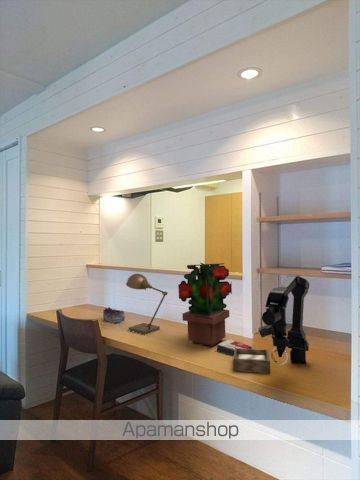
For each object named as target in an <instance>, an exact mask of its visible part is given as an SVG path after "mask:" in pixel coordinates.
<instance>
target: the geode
mask: <svg viewBox="0 0 360 480" xmlns="http://www.w3.org/2000/svg"><path fill="white" fill-rule="evenodd" d="M102 313H103V314H102V317H103V318H102V319H103V321H104V322H109V323H113V324H120V323H121V322H122V321H125V319H126V315H125V312H124V310H118V309H112V308H111V307H110V306H109V307H108V308H106V307H105V308H104V309H103V312H102Z"/></svg>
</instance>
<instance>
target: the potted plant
mask: <svg viewBox="0 0 360 480" xmlns="http://www.w3.org/2000/svg"><path fill="white" fill-rule="evenodd" d="M224 264H225V263H224V262H223V263H203V262H199V264H187V265H186V268H187V270H191V271H190V273H185V274H184V275H183V278H184V279H185V280H182V281H180V283H179V284H178V299H179V300H181V301H182V302H183V303H184V302H186V301H187V299H189V300H188V301H187V304H189V306H188V308H187V309H188V311H185V312H183V313H182V321H184V322H185V321H186V322H187V340H188V341H190V342H192V344H195V345H199V346H202V347H204V346H205V347H208V348H212V347H213V346H215V345H218V344H219V343H221V342H222V340H223V339H225V338H226V319H227V318H230V310H229V309H226V308H227V307H228V305H227V304H226V303H224V300H225V299H226V298H227V296H229V295H230V294H231V295H233V292H232V291H233V288H232V287H233V286H232V281H227V280H226V279H227V277H229V275H230V270H229V268H226V266H225V265H224ZM197 266H199V267H197ZM186 280H187V281H186ZM225 280H226V281H225Z"/></svg>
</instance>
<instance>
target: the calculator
mask: <svg viewBox="0 0 360 480" xmlns="http://www.w3.org/2000/svg"><path fill="white" fill-rule="evenodd" d="M235 348H244V349H253V347H252V346H251V345H249V344H246V343H242V342H239V341H236V340H235V341H234V340H232V339H227V340H225V341H221V342H219V343H217V344H216V352H218V353H222V354H226V355H229V356H231V357H232V356H233V357H234V351H235Z"/></svg>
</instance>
